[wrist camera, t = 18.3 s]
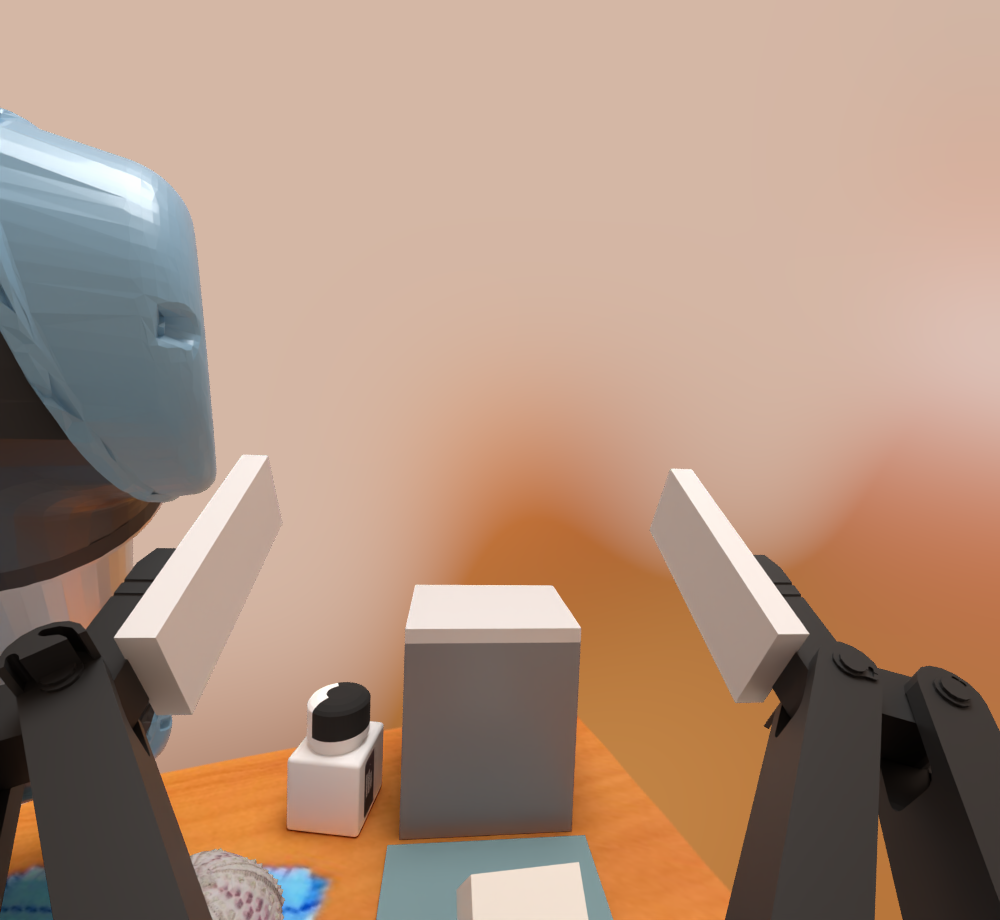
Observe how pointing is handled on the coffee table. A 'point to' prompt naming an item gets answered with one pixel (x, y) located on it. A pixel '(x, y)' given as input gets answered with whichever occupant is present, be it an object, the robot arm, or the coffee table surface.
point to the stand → (488, 711)
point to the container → (335, 763)
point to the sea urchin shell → (237, 887)
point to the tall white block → (524, 894)
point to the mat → (445, 866)
